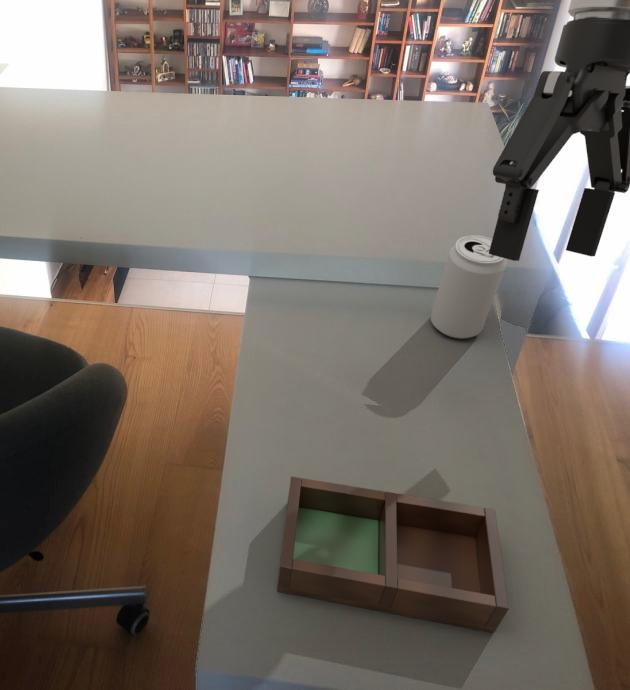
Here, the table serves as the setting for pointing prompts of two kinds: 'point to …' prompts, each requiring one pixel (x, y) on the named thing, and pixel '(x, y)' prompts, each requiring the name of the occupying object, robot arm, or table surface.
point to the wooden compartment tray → (393, 554)
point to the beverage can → (467, 287)
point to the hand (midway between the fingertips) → (543, 255)
